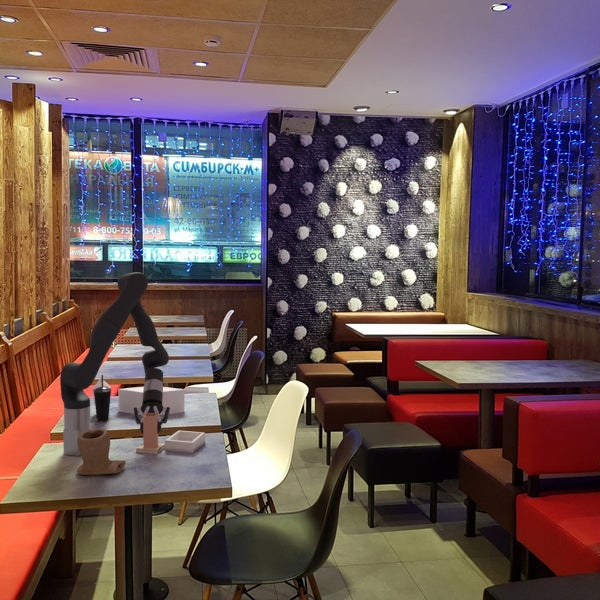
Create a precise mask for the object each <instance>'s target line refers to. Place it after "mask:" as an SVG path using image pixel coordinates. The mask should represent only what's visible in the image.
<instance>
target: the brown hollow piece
mask: <svg viewBox="0 0 600 600" xmlns="http://www.w3.org/2000/svg"><path fill="white" fill-rule="evenodd" d="M77 444H78V449H79V452H80V456H81V458H82V464H80V465H79V466H78V467H77V469H76V472H77V474H78V475H83V476H84V475H86V476H90V475H91V476H93V475H96V476H97V475H109V474H111V475H112V474H118V473H120V472H121V471H122V470H123V469H124V467H125V465H126V464H127V463H126V462H127V461H126V460H124V459H123V460H122V459H121V460H120V459H119V460H118V459H117V460H115V459H114V460H111V459H110V458H109V456H110V455H109V453H110V447H111V437H110V434H109V432H108V431H107V429H104V428H95V429H91V430H88V431H85V432H83V433H81V434H80V435H79V436H78V439H77Z"/></svg>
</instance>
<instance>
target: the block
mask: <svg viewBox="0 0 600 600" xmlns="http://www.w3.org/2000/svg"><path fill="white" fill-rule="evenodd" d="M143 389H144V386H136V387H135V386H134V387H127V388H118V390H117V391H118V412H120V413H126V414H131V415H135V414H134V408H141V406H142V402H143ZM162 406H163V407H165V408H167V407H170V413H169V415H172V414H178V413H185V389H181V388H175V387H167V386H163V401H162ZM159 415H160V416H161V415H162V416H164V415H165V413H164V411H162V412H161V413H160V414H159ZM138 416H143V413H142V411H140V414H138Z"/></svg>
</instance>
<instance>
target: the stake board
mask: <svg viewBox="0 0 600 600" xmlns="http://www.w3.org/2000/svg"><path fill="white" fill-rule="evenodd" d="M135 450H136V453H141V454H149V455H150V454H151V455H157V454H158V453H160V452H162V450H165V442H164V443H162V442H161V443H160V442H158V447H157V448H143V443H142V444H140V445H139V446H138V447H136V448H135Z"/></svg>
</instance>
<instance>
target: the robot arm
mask: <svg viewBox="0 0 600 600" xmlns="http://www.w3.org/2000/svg"><path fill="white" fill-rule="evenodd" d="M148 284H149V282H148V277H147V276H146V275H145V274H144V273H142V272H140V271H139V272H135V271H134V272H130V273H124V274H122V275H121V276H120V277H119V279H118V280H117V289H118V291H119V293H120V294H119V295H118V296H119V297H117V299H115V301H114V302H113V303H112V304H111V305H110V306H108V307H107V308H106V309H105V310H104V312H103V313H102V314H101V315H100V317H99V318H98V319H97V321H96V322H95V324H94V326H93V328H92V330H91V334H90V345H89V349H88V352H87V354H86V356H85V358H84V359H83V361H82V362H80V363H79V362H67V363H66V364H65V365H63V367H62V368H61V371H60V376H59V377H60V379H59V382H60V384H59V385H60V396H61V400H62V402H63V424H64V425H63V426H64V428H63V431H62V433H63V434H62V435H63V436H62V437H63V455H65V456H76V457H79V456H81V455H80V452H79V449H78V444H77V439H78V436H79V435H80V434H81V433H83V432H85V431H88V430H92V429H91V399H90V397H89V396H88V395H87V394H86V393H85V391H84V390H86V389H89V388H90V386H91V385H92V384H93V383H94V381H95V379H96V377H97V375H98V372H99V370H100V368H101V366H102V364H103V362H104V360H105V358H106V356H107V354H108V353H109V351H110V349H111V347H112V345H113V343H114V342H115V340H116V339H117V337H118V335H119V333H120V332H121V331H122V328H123V327H124V325H125V323H126V321H127V319H128V318H129V316H130V315H131V319H132V320H133V322H134V325H135V328H136V331H137V335H138V337H139V340H140V343H141V346H143V347H147V348H153V350H150V351H146V352H144V353H143V355H142V356H141V361H142V362H141V363H142V366H143V369H144V376H145V377H144V385H143V387H144V389H143V402H142V406H141V408H134V414H133V415H134V419H135V423H136V425H139V426H140V427H139V432H140V433H141V434H142V435H143V416H144V413H158V424H157V434H158V435H159V434H160V433H161V432H162V425H163V424H167V422H168V419H169V416H170V414H169V413H170V407H167V408H165V407H163V406H162V401H163V387H164V385H163V383H164V372H163V370H162V369H160V368H159V367H163V366H166V365H168V363H169V361H170V357H169V354H168V351H167V350H166V348H165V347H164V345H163V343H162V342H161V340H160V338H159V336H158V333H157V329H156V327H155V324H154V322H153V320H152V318H151V316H150V315H149V314H148V312H147V311H146V309H145V308H144V306H143V304H142V301H141V298H142V297H143V296H144V295H145V293H146V291H147V289H148V286H149V285H148ZM140 411H142V413H143V415H142V417H141V419H139V415H138V414H140ZM162 411H164V413H165V414H163V418H161V415H159V414H160V413H161V412H162Z"/></svg>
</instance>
